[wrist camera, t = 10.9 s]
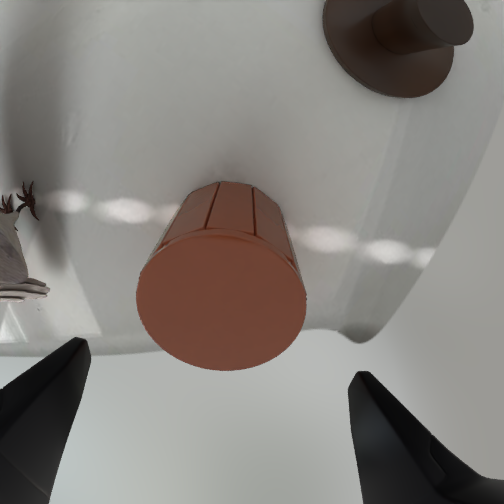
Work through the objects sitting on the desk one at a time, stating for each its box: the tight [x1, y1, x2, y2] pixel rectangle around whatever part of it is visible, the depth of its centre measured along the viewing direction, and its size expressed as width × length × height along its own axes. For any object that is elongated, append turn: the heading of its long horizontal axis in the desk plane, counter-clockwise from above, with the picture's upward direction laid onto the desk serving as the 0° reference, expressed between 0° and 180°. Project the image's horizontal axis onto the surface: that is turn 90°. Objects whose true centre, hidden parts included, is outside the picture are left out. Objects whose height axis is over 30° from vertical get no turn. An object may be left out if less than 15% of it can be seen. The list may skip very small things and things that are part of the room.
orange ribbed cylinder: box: [136, 181, 307, 371], centre depth 15 cm, size 7×7×7 cm
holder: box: [323, 0, 474, 98], centre depth 10 cm, size 8×8×6 cm
